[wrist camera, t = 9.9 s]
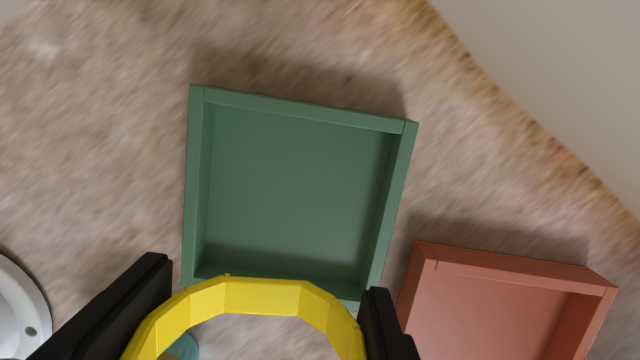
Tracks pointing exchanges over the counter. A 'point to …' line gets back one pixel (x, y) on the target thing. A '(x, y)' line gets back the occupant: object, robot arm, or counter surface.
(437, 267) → the terracotta tray
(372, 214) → the green tray
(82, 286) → the counter surface
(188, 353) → the cupcake
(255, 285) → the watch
